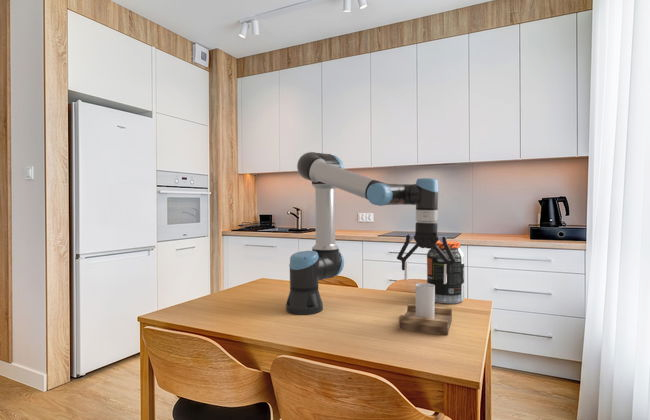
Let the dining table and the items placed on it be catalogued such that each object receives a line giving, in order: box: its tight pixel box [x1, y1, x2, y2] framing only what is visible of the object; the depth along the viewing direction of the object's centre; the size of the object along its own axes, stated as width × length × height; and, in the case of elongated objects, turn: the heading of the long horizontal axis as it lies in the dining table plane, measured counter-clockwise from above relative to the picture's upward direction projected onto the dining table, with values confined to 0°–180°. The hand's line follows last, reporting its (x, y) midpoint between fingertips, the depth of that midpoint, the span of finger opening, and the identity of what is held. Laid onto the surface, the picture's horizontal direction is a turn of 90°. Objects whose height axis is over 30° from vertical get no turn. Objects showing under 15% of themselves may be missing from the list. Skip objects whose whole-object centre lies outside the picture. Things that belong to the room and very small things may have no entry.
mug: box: [414, 282, 436, 319], centre depth 136 cm, size 10×7×12 cm, turn 141°
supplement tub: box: [426, 240, 465, 304], centre depth 168 cm, size 16×16×26 cm
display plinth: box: [398, 303, 453, 336], centre depth 136 cm, size 16×17×4 cm
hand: (425, 281), depth 136 cm, fingers open, 13 cm apart
